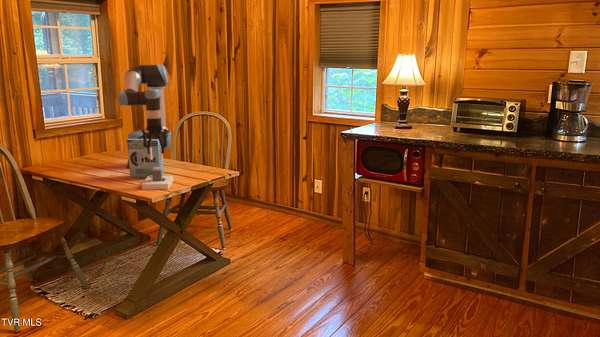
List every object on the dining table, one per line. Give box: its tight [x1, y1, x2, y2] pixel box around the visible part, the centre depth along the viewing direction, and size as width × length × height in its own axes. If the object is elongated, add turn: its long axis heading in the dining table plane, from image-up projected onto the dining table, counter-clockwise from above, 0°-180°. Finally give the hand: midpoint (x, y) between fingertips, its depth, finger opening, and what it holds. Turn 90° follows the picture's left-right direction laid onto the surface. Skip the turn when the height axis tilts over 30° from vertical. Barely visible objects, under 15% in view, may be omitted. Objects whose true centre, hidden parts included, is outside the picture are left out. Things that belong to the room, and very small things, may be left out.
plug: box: [152, 167, 163, 181], centre depth 273 cm, size 4×4×10 cm
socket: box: [141, 175, 174, 191], centre depth 274 cm, size 18×14×4 cm
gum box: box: [126, 138, 165, 179], centre depth 289 cm, size 20×5×23 cm, turn 81°
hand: (156, 159), depth 271 cm, fingers open, 5 cm apart
